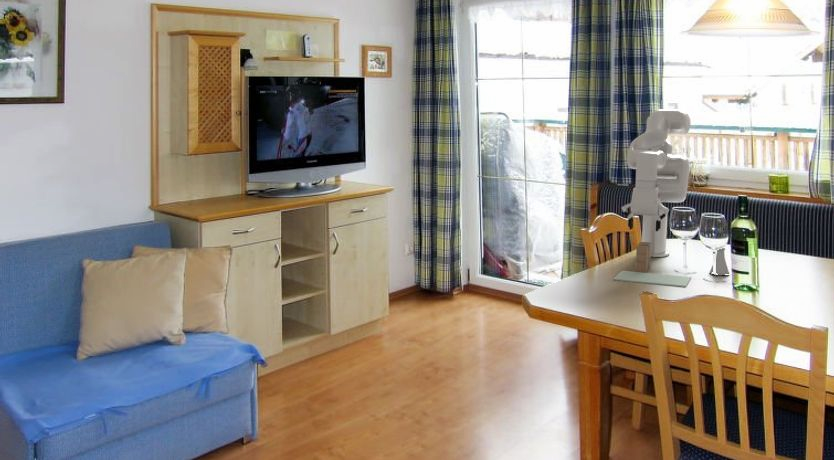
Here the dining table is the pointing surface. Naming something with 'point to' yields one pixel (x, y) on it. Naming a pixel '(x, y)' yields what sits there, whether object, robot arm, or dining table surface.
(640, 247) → the walnut slab
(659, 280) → the sage mat
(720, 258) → the flask
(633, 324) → the dining table surface
